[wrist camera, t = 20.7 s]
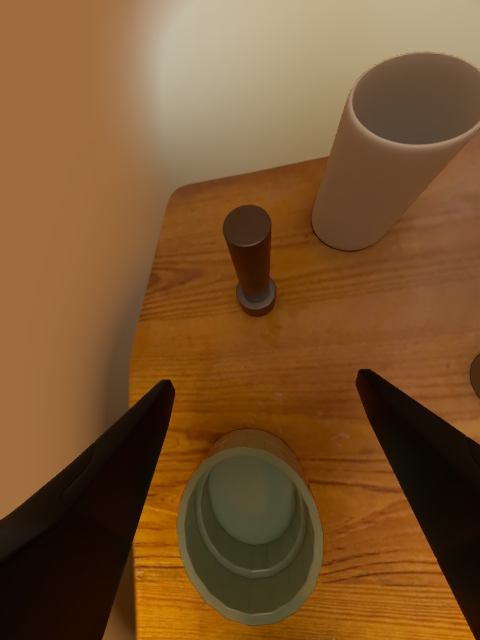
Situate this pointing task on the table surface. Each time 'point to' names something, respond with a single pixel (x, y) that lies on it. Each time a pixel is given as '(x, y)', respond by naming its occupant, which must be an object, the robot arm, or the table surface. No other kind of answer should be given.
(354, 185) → the mug
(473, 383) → the pepper shaker
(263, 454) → the bowl
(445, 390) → the table surface
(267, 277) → the muddler
